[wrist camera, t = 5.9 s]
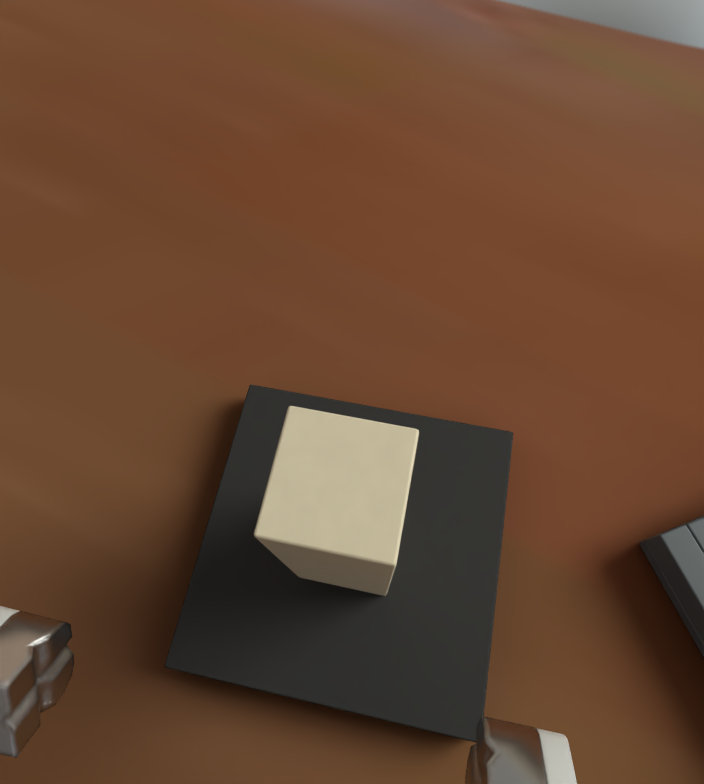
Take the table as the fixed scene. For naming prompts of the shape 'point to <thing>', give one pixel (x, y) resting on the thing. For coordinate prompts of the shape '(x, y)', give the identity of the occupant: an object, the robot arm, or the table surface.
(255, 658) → the loose pad
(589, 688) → the table surface
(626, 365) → the table surface
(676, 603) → the grey shallow rectangular tray
